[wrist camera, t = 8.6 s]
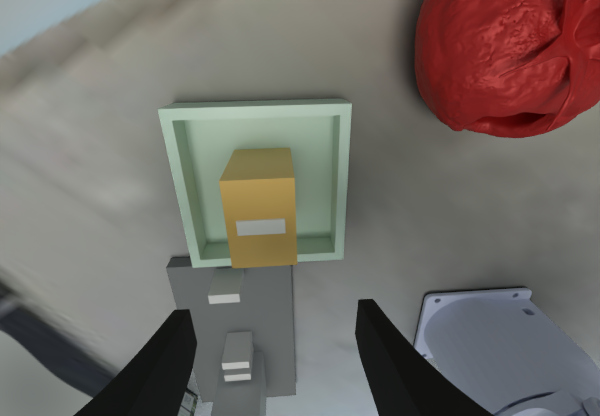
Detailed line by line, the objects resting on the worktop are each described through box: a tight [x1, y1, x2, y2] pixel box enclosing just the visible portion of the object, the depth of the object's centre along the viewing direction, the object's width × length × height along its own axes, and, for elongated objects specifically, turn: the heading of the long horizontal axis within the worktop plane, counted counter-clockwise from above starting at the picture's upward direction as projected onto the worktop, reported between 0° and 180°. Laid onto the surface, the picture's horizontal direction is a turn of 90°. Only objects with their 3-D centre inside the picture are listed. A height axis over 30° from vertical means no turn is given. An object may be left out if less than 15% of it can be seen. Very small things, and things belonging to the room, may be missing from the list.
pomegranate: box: [415, 0, 600, 138], centre depth 13 cm, size 10×10×9 cm
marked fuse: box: [219, 148, 297, 269], centre depth 17 cm, size 4×5×6 cm
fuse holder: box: [166, 257, 296, 403], centre depth 24 cm, size 9×16×4 cm, turn 1°
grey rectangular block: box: [211, 352, 267, 416], centre depth 25 cm, size 4×5×6 cm
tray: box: [158, 98, 352, 268], centre depth 19 cm, size 10×10×3 cm
